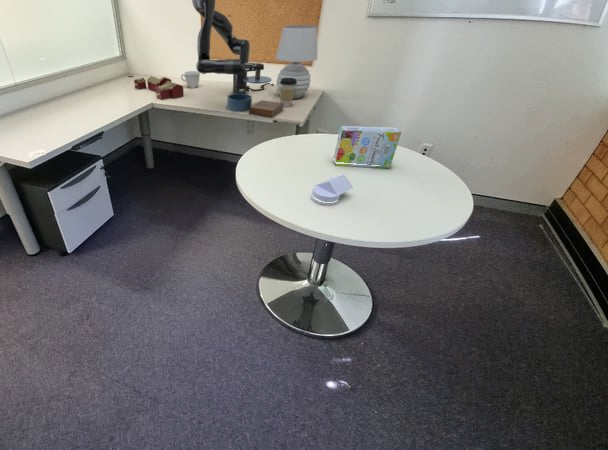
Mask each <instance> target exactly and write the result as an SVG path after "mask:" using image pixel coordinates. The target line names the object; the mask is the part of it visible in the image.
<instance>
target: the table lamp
mask: <svg viewBox="0 0 608 450" xmlns="http://www.w3.org/2000/svg"><path fill="white" fill-rule="evenodd" d="M275 59H276V60H277V61H280V62H291V63H289V64H287V65H285V66H283V68H282V69H280V71H279V73H277V78H276V87H277V88H276V89H277V91H278V92H279V94H280V88H281V83H280V81H281V79H283V78H294V79H296V81H297V84H296V86H295V91H294V96H293V100H295V99H300V98H301V97H302V96H304V95H305V94H306V92H308V90H309V88H310V85H311V84H310V83H311V73H310V70H309V69H308V68H307V67H306V66H305V65H303V64H301V63H306V62H307V63H308V62H313V61H316V60H318V26H317V25H312V24H311V25H310V24H292V25H284V26H283V27H282V32H281V36H280V40H279V43H278V47H277V51H276V55H275Z"/></svg>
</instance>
